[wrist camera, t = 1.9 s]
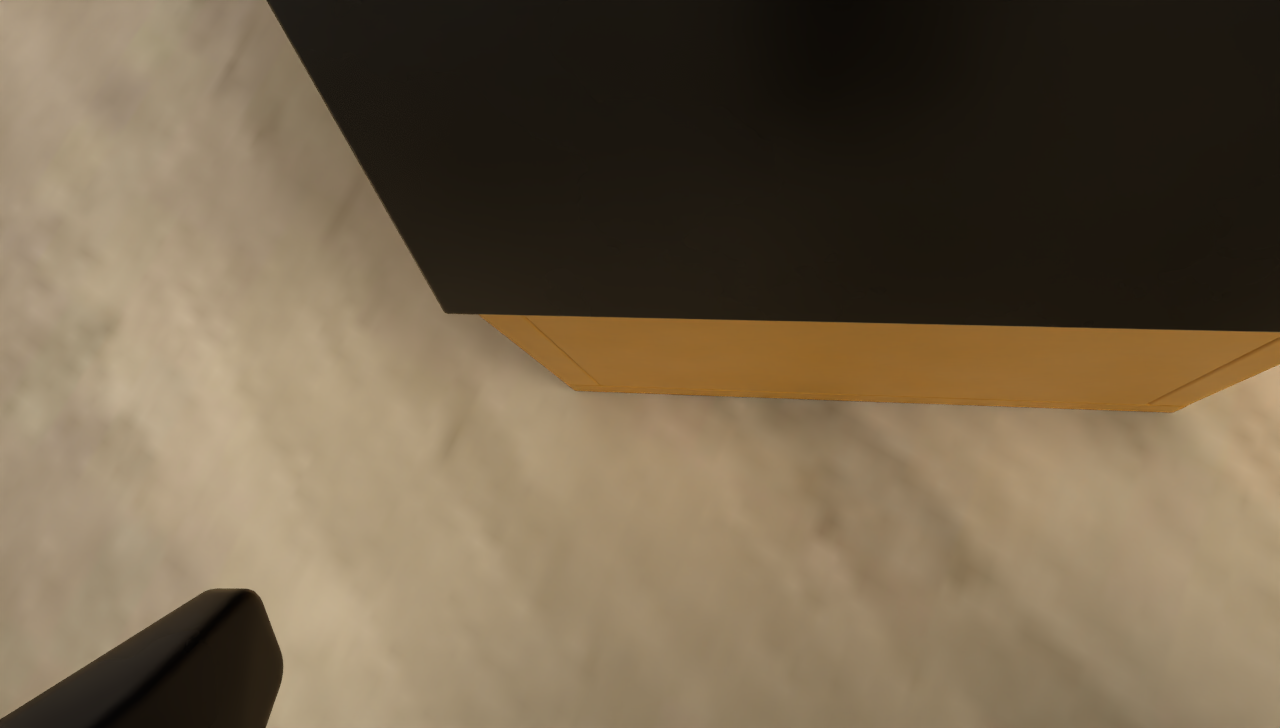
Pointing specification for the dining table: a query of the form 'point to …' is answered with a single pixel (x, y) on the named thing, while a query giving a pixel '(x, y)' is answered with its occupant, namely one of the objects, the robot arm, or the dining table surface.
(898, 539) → the dining table surface
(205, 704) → the robot arm
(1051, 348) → the orange box
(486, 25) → the black square box lid
